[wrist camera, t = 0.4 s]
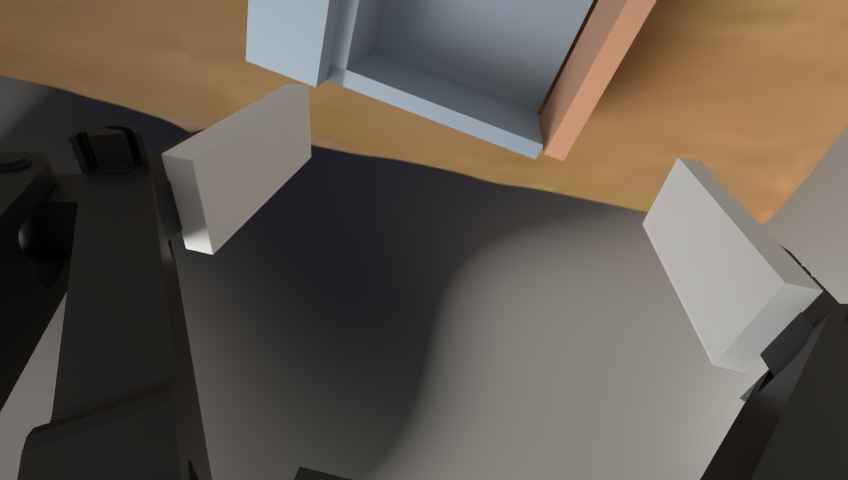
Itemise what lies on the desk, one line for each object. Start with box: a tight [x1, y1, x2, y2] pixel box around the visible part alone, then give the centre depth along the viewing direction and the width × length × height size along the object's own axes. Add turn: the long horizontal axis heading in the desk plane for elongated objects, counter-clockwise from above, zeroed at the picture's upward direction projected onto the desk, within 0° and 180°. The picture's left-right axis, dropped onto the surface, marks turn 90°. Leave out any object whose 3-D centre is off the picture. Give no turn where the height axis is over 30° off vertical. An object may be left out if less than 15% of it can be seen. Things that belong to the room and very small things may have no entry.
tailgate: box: [539, 0, 657, 161], centre depth 28 cm, size 2×14×8 cm, turn 162°
